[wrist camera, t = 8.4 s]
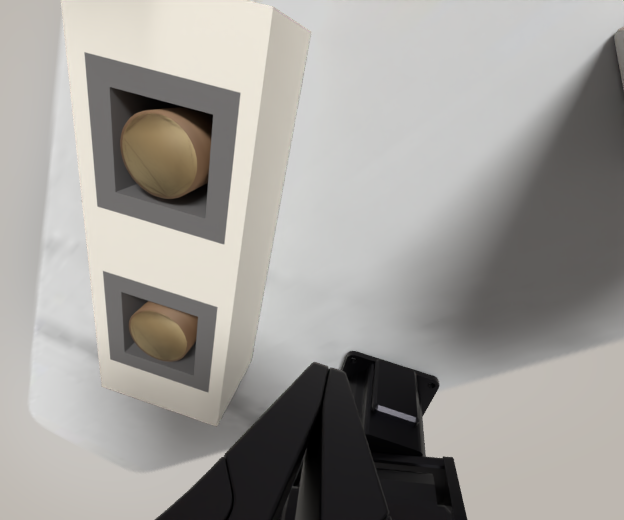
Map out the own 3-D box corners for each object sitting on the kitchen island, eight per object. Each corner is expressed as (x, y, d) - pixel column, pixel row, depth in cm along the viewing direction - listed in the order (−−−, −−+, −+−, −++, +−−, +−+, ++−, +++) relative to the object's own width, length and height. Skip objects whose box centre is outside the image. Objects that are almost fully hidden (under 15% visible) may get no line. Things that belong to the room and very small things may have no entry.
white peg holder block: (251, 361, 27) (217, 426, 22) (157, 330, 28) (101, 386, 23) (311, 31, 17) (273, 6, 11) (158, -5, 17) (56, -45, 12)
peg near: (246, 177, 20) (196, 208, 15) (188, 161, 21) (122, 186, 16) (254, 113, 19) (202, 122, 14) (192, 96, 19) (118, 100, 14)
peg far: (229, 312, 25) (186, 369, 20) (182, 297, 25) (129, 350, 20) (234, 270, 23) (190, 320, 18) (184, 254, 24) (127, 300, 19)
